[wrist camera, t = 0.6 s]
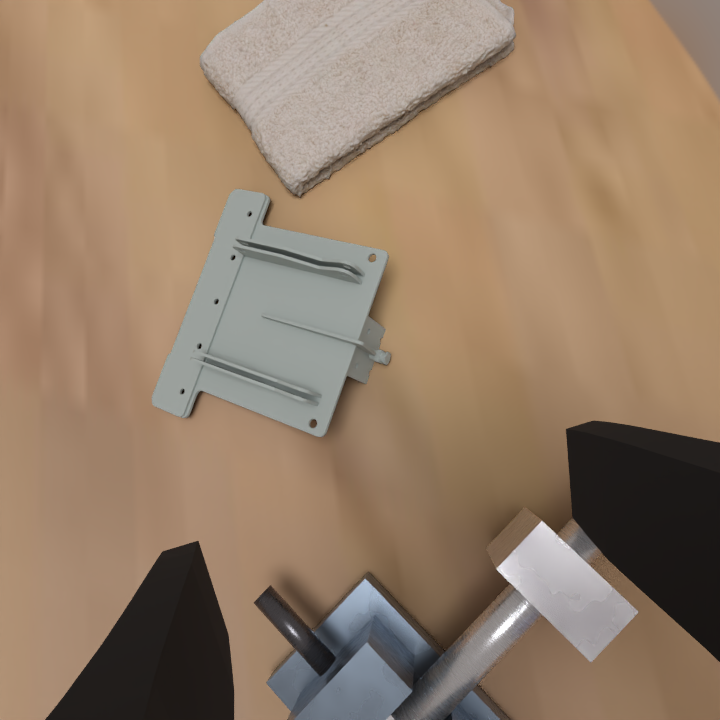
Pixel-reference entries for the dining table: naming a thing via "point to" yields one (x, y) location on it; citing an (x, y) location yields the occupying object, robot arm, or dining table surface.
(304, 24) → the washcloth
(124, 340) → the dining table surface
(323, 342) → the metal bracket
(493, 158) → the dining table surface
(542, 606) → the notched block
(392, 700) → the vise
